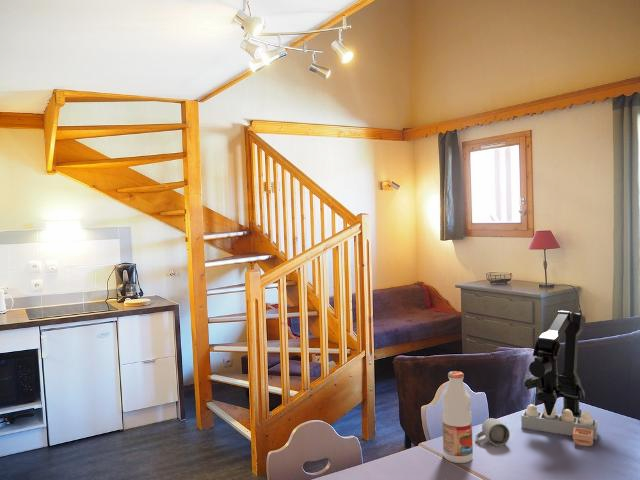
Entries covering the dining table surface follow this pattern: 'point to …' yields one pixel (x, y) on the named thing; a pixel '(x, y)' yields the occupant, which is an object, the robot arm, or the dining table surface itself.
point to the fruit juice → (457, 421)
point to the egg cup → (583, 436)
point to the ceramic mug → (493, 432)
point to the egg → (549, 415)
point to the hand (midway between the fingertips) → (549, 413)
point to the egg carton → (557, 421)
